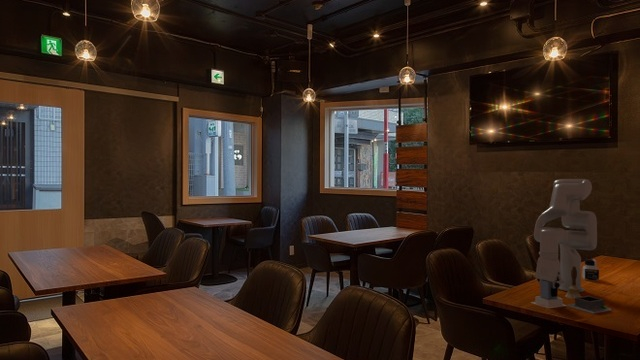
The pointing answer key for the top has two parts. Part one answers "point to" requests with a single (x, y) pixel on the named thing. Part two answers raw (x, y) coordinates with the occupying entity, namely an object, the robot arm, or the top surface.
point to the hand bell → (573, 286)
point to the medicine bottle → (590, 270)
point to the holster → (549, 302)
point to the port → (590, 304)
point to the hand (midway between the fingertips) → (548, 294)
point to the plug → (546, 290)
